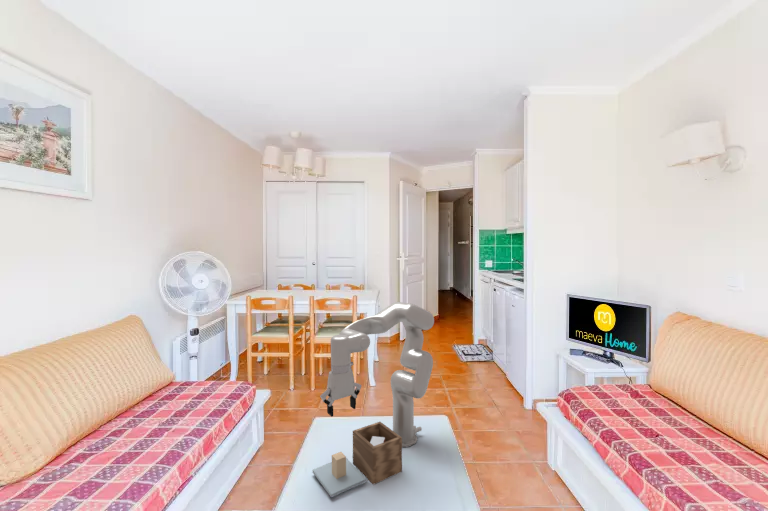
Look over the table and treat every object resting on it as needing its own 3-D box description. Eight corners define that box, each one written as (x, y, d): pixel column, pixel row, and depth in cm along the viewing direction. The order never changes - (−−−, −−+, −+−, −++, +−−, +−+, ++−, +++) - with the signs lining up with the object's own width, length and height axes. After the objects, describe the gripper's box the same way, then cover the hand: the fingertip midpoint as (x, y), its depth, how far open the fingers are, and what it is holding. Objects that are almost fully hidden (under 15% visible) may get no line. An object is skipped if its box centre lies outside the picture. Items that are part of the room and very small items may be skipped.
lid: (345, 462, 141) (345, 440, 141) (366, 484, 128) (366, 460, 128) (312, 475, 133) (312, 451, 133) (331, 500, 120) (331, 474, 119)
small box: (381, 474, 133) (381, 448, 133) (367, 473, 134) (367, 446, 134) (385, 462, 141) (385, 437, 141) (372, 460, 142) (372, 435, 142)
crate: (380, 452, 148) (380, 421, 148) (401, 471, 135) (401, 437, 135) (352, 463, 140) (352, 430, 140) (373, 484, 128) (373, 448, 127)
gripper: (355, 360, 140) (356, 401, 141) (316, 369, 131) (317, 414, 131) (365, 365, 134) (366, 408, 135) (324, 375, 124) (325, 422, 125)
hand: (342, 411), depth 133 cm, fingers open, 9 cm apart
